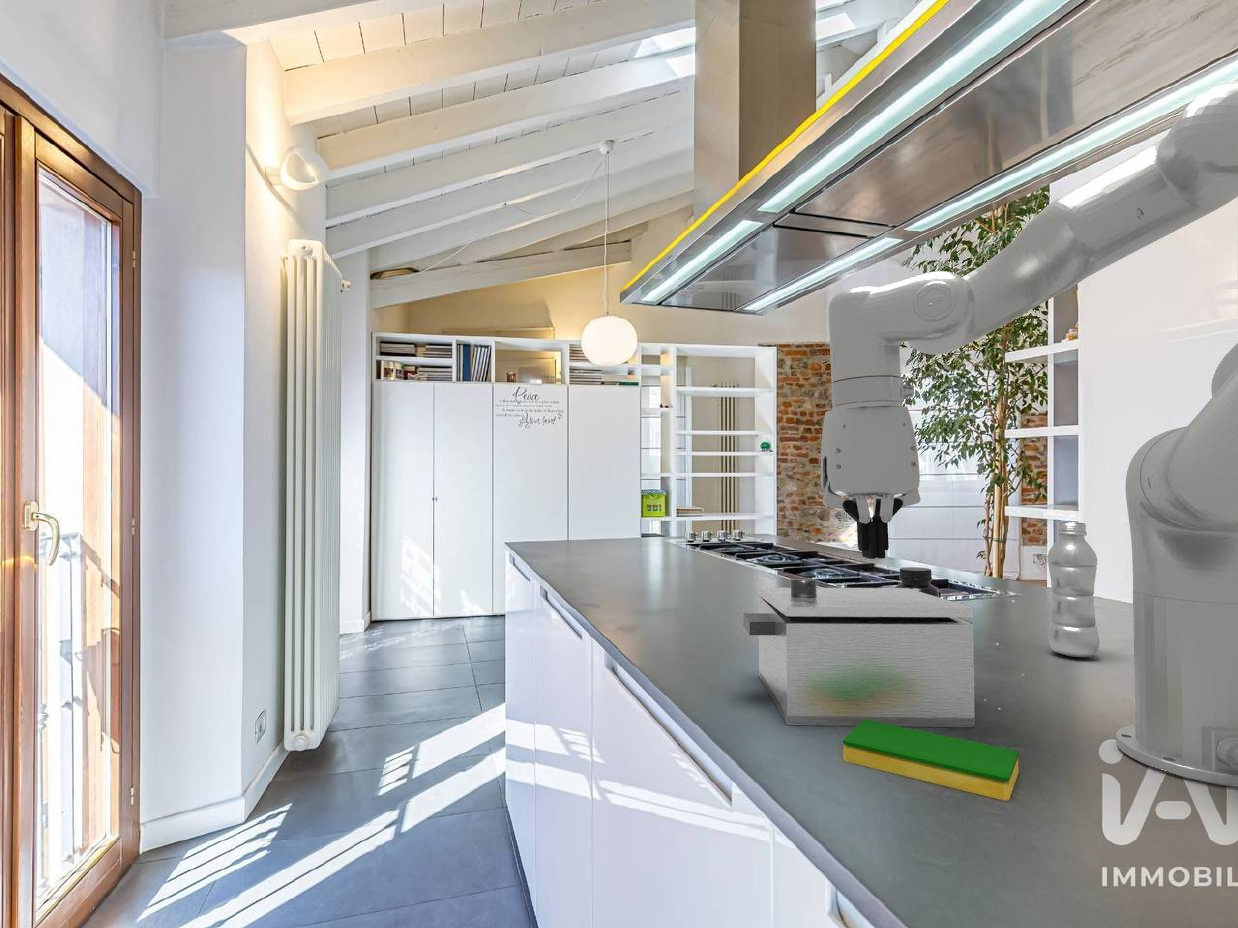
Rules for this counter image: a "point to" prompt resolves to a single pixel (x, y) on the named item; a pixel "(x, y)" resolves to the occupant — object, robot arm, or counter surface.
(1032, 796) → the counter surface
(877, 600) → the lid
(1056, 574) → the plastic bottle
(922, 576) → the supplement bottle
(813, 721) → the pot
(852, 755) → the dish sponge
